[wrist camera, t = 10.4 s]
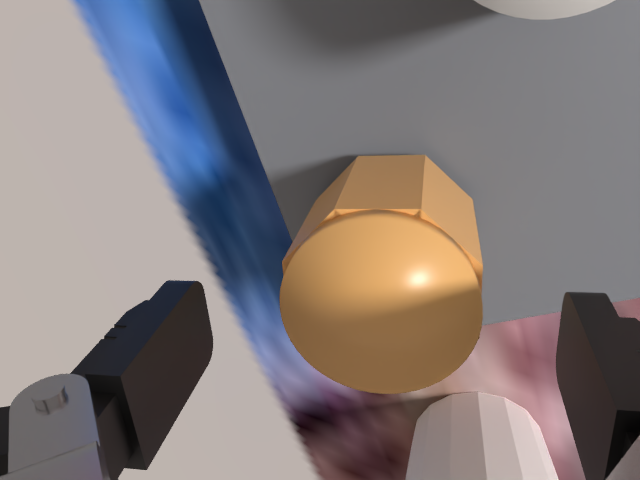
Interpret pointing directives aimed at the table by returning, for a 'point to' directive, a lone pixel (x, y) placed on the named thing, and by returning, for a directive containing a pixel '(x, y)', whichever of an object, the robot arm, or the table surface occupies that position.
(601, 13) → the plate
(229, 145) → the table surface
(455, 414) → the white tapered cup
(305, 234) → the orange wire cap
